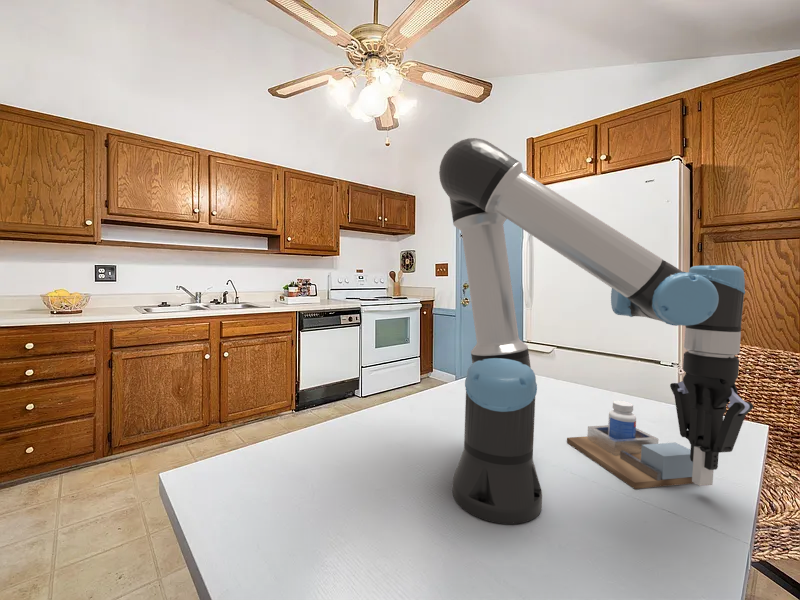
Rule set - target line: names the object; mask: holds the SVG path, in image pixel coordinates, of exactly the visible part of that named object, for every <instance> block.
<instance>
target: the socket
mask: <svg viewBox="0 0 800 600" xmlns="http://www.w3.org/2000/svg"><path fill="white" fill-rule="evenodd" d="M586 435H587V439H588V440H590V441H592V442H593V443H595V444H597V445H598V446H600V447H601V448H603V449H605V450H606V451H608V452H610V453H611V454H613V455H620V451H623V450H624V451H626V452H627V453H629V454H640V453H641V450H642V445H646V444H659V438H657V437H655V436H653V435H651V434H650V433H648V432H645V431H643V430H640V429H639V428H637V427H636V434H635V438H632V439H617V440H616V439H614V438H612V437H610V436H608V424H606V425H590V426H587V434H586Z"/></svg>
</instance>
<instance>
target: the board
mask: <svg viewBox="0 0 800 600" xmlns="http://www.w3.org/2000/svg"><path fill="white" fill-rule="evenodd" d="M566 443H567V444H568V445H570V446H571V447H573V448H574V449H576V450H577V451H578V452H580V453H581V454H583V455H584V456H586V457H587V458H588V459H590V460H591V461H593V462H594V463H596V464H597V465H599V466H600V467H601V468H603V469H605V470H607V471H608V472H609V473H611V474H612V475H613V476H615V477H616V478H618V479H619V480H621V481H622V482H623V483H625V484H626V485H628V486H630V487H631V488H632V489H634V490H640V489H649V488H650V489H651V488H657V487H658V488H660V487H669V486H670V487H671V486H679V485H688V484H694V483H693V482H692V477H686V478H675V479H664V480H662V479H661V480H659V481H657V480H655V479H653V478H652V477H650V476H649V475H647V474H645V473H644V472H642V471H640V470H639V469H637V468H635V467H634V466H632V465H631V464H629V463H627V462H626V461H624V460H622V459H621V458H620V455H613V454H611V453H610V452H608V451H606V450H605V449H603V448H601V447H600V446H598V445H597V444H595V443H593V442H592V441H590V440H588V439H587V436H573V437H572V436H571V437H566ZM631 455H632V456H634V457H636V458H638V459H639V460H641V453H640V454H631Z"/></svg>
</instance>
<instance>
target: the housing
mask: <svg viewBox="0 0 800 600" xmlns="http://www.w3.org/2000/svg"><path fill="white" fill-rule="evenodd" d="M690 450H691V448H689V447H688V448H687V447H686V446H684V445H681V444H680V443H677V442H662V443H658V444H646V445H642V450H641V461H643V462H645V463H646V464H648V465H650V466H652V467H653V468H655V469H657V470H658V471H660V472H661V479H662V480H664V479H675V478H686V477H692V472H693V462H692V461H691V459H690Z"/></svg>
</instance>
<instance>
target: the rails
mask: <svg viewBox="0 0 800 600" xmlns="http://www.w3.org/2000/svg"><path fill="white" fill-rule="evenodd" d="M620 458H621V459H622V460H624V461H626V462H627V463H629V464H631V465H632V466H634V467H635V468H637V469H639V470H640V471H642V472H644V473H645V474H647V475H649V476H650V477H652V478H653V479H655V480H657V481H659V480H661V472H660V471H658V470H657V469H655V468H653V467H652V466H650V465H648V464H646V463H645V462H643V461H641V460H639V459H638V458H636V457H634V456H632V455H631V454H629V453H627V452H626V451H624V450H623V451H620Z"/></svg>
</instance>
